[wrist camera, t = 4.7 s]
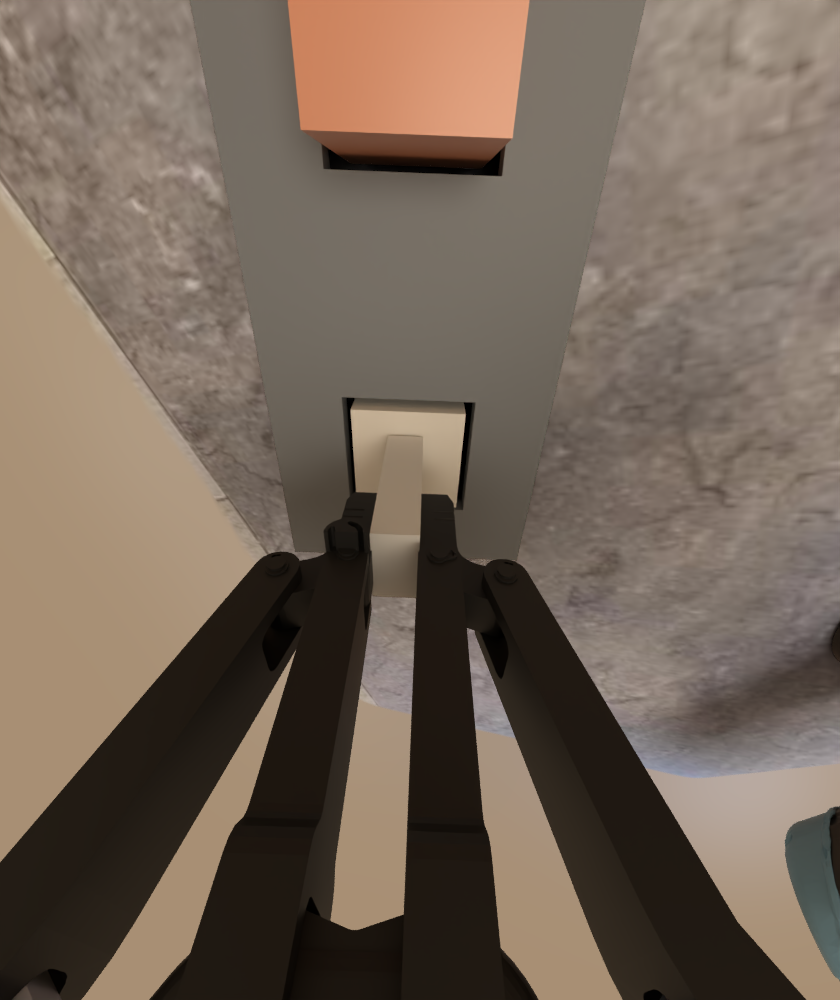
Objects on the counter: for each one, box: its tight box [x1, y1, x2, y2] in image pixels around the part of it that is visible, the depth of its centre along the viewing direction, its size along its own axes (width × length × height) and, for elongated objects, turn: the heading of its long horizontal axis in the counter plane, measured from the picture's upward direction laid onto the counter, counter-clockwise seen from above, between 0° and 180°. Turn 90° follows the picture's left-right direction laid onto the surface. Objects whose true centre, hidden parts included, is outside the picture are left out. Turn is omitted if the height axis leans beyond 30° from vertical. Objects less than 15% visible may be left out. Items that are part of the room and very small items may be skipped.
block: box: [190, 0, 646, 560], centre depth 18 cm, size 25×12×8 cm, turn 178°
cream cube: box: [351, 398, 466, 508], centre depth 21 cm, size 5×5×7 cm
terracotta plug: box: [288, 0, 529, 169], centre depth 11 cm, size 5×5×7 cm
